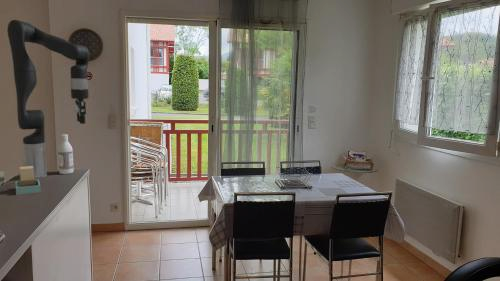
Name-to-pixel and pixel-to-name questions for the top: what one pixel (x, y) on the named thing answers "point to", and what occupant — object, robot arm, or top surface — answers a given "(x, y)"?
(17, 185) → the tote
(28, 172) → the light box
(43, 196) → the top surface
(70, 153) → the bath foam
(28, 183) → the block
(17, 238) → the top surface
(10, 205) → the top surface
